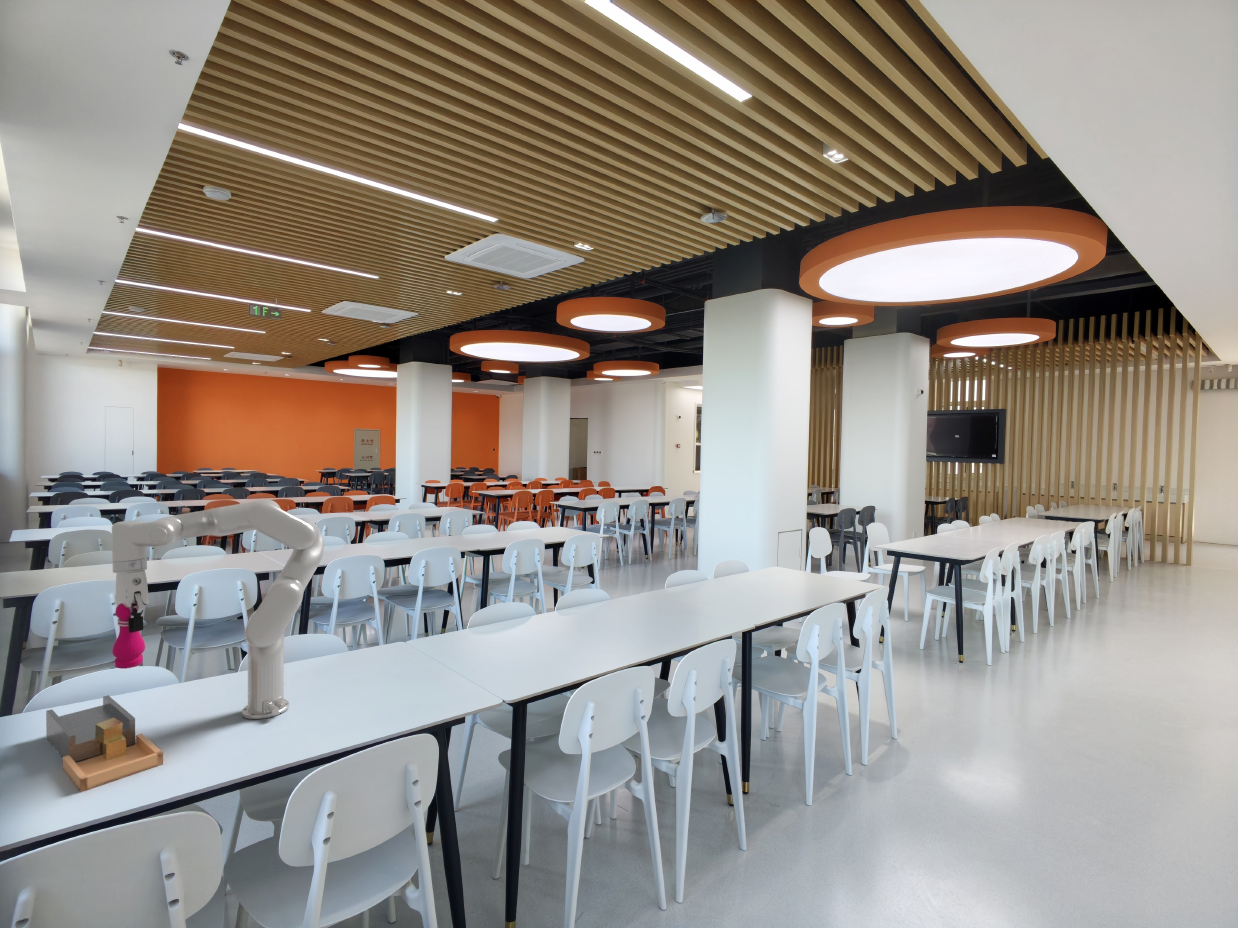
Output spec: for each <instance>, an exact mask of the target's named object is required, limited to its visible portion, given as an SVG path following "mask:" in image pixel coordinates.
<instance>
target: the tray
mask: <svg viewBox="0 0 1238 928" xmlns="http://www.w3.org/2000/svg"><path fill="white" fill-rule="evenodd" d="M162 765H164V752H163V751H162V750H161V749H160V748H159V747H157V746H156V745H155V744H154V743H153V742H152V741H151V740H150V739H149V738H148V737H146V736H145V735H144V734H143V733H138V734H135V745H132V746H129V747H126V755H123V756H120V757H117V758H113V759H110V760H107V761H106V759H105V758H104V757H103V755H100V756H97V757H94V758H90V759H87V760H84V761H81V762H77V763H75V762H74V760H73V759H72V758H71V757H70V756H69V755H68V756H65V757H63V758H62V770H63V771H64V772H65V774H66V775H67V777H69V780H71V782H72V783H73V784H74V786H75V787H76V788H77V789H78V790H79V792H80V793H83V792H85V791H88V790H91V789H95V788H97V787H100V786H103V785H106V784H109V783H112V782H114V781H119V780H121V779H124V778H127V777H129V776H132V775H136V774H138V773H141V772H144V771H147V770H149V769H153V768H155V767H159V766H162Z"/></svg>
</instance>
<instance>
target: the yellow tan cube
mask: <svg viewBox="0 0 1238 928" xmlns="http://www.w3.org/2000/svg"><path fill="white" fill-rule="evenodd" d="M122 725H123V723H122V722H121V721H119V720H117V719H115V718H112V719H109V720H106V721H103V722H101V723H98V724H96V731H95V739H96V740H98V741H99V742H101V743H103V744H106V743H108V742H111V741H113V740H116V739H119V738H121V737H122Z"/></svg>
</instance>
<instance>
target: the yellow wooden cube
mask: <svg viewBox="0 0 1238 928" xmlns="http://www.w3.org/2000/svg"><path fill="white" fill-rule="evenodd" d="M102 747H103V757H104V758H105V759H106V761H107V760H110V759H113V758H117V757H120V756H123V755H126V739H125V737H124V736H123V735H122V737H121V738H119V739H116V740H113V741H111V742H108V743H106V744H103V743H102Z"/></svg>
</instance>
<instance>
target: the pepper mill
mask: <svg viewBox="0 0 1238 928" xmlns="http://www.w3.org/2000/svg"><path fill="white" fill-rule="evenodd" d="M132 606H136V604H133V605H132ZM135 609H136V608H135ZM133 612H134V609H133ZM114 613H115V616H116V617H117V618H118V619H117V625H118V626H119V633H118V636H117V638H116V640H115V642H114V644H113V646H112V653H111V654H112V655H113V657H115V659H114V667H116V668H117V669H124V670H125V669H132V668H135V667H138V666H140V665H141V664H143V662H144V655H143V654H142V653H144V651H145V650H146V643H145V639H144V638H143V637H142V635H141V633H140V631H137V632H132V633H130V632H129V626H128V618H130V615H129V608H127V607H125V606H124V605H123V604H122V603H121V604H118V605H117V607H116V608H115V612H114Z"/></svg>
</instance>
